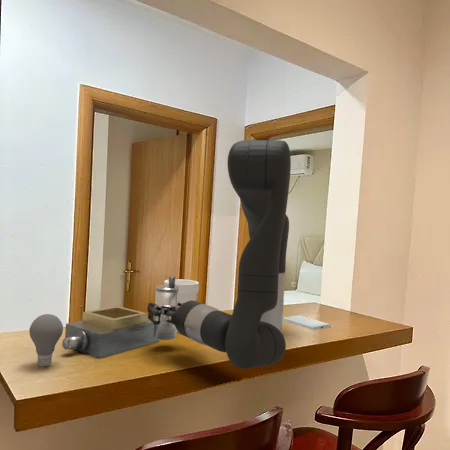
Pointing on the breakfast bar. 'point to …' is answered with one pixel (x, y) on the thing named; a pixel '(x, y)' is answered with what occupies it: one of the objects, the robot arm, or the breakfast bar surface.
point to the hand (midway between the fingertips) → (160, 306)
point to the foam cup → (186, 290)
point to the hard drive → (306, 322)
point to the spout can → (168, 297)
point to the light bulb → (45, 337)
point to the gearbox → (109, 331)
